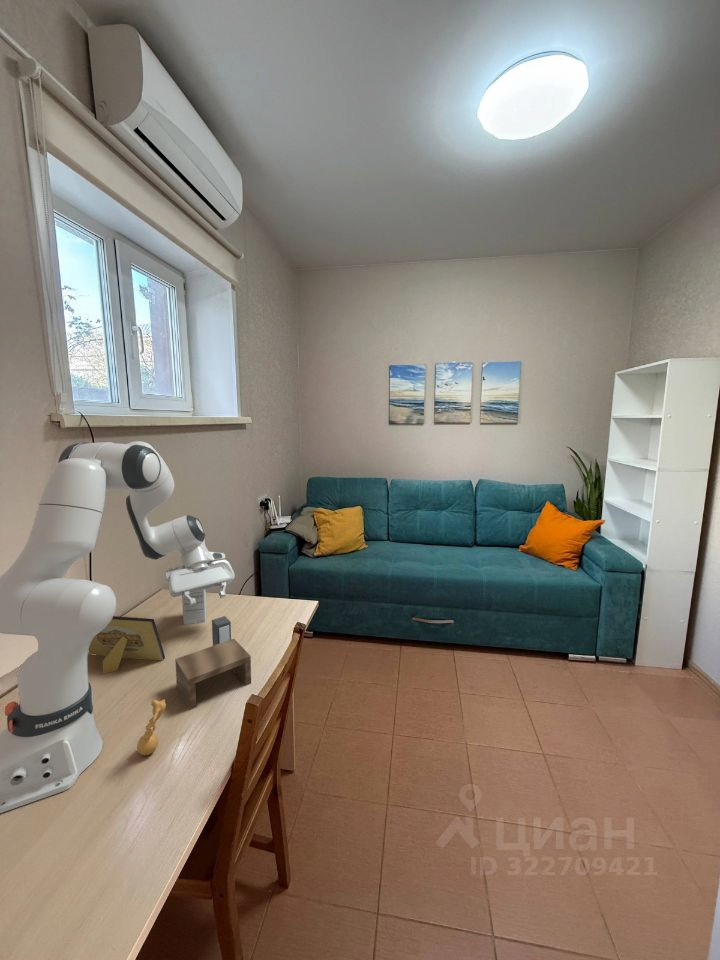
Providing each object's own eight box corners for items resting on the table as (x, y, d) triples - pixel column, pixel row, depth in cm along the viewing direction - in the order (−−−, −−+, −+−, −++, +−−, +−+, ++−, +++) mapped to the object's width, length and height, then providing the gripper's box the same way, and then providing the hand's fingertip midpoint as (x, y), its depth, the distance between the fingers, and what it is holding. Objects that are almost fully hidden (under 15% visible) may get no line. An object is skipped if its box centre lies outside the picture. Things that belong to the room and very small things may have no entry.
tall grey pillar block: (218, 660, 116) (217, 626, 115) (213, 653, 120) (211, 619, 118) (231, 655, 119) (230, 621, 118) (225, 649, 123) (224, 616, 121)
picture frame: (165, 657, 117) (159, 613, 114) (146, 679, 109) (139, 632, 105) (93, 652, 120) (85, 608, 116) (69, 673, 111) (60, 627, 107)
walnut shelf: (189, 709, 96) (188, 679, 95) (176, 686, 105) (175, 659, 104) (251, 683, 107) (250, 655, 106) (234, 664, 115) (234, 638, 114)
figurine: (146, 737, 88) (143, 688, 86) (174, 735, 88) (171, 686, 87) (129, 769, 79) (125, 716, 78) (161, 767, 80) (157, 713, 79)
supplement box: (185, 615, 144) (183, 582, 142) (207, 612, 146) (205, 580, 144) (182, 625, 137) (181, 590, 135) (205, 622, 139) (204, 588, 137)
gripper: (165, 565, 122) (175, 605, 116) (229, 552, 136) (241, 588, 130) (162, 574, 126) (172, 614, 120) (224, 561, 140) (236, 596, 134)
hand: (208, 600), depth 125 cm, fingers open, 8 cm apart
